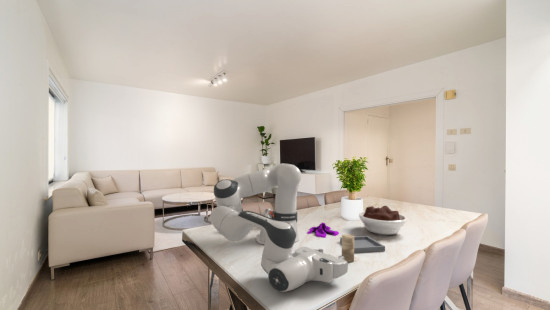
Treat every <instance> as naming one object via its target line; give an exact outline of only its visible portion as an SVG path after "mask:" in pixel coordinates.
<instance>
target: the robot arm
mask: <svg viewBox="0 0 550 310" xmlns="http://www.w3.org/2000/svg"><path fill="white" fill-rule="evenodd" d="M301 180H302V172H301V170H300V169H299V167H297V166H296V165H295V164H290V163H283V162H282V163H279V164H275V165H273V166H269V167H267V168H263V169H261V170H258V171H254V172H251V173H247V174H244V175H241V176H238V177H235V178H234V179H230V178H229V179H222V180H219V181H218V182H216V184H215V185H214V186H213V195H214V199H215V203H216V207H215V208H213V210H212V211H211V212H210V215H209V221H210V223H211V224H212V226H213V228H214V229H215V230H216V231H217V232H218V233H219V234H220V235H222V237H224V238H225V239H226V240H228V241H230V242H238V241H241V240H243V239H245V238H246V237H247V236H248V235H249V233H250V232H251V230H252V228H256V229H259V230H260V231H259V233H257V234H256V235H255V240H256V242H257V243H258V244H259V245H264V246H263V249H262V254H261V259H260V265H261V268H262V269H263V271H264V272H265V273H266V274H267V275H268V277H267V278H268V281H269V284H270V285H271V287H272V288H273V289H274V290H275V291H277V292H281V293H284V292H290V291H292V290H295V289H297V288H299V287H301V286H303V285H304V284H305V283H307V282H310V281H316V282H317V281H319V282H324V283H331V282H333V279H338V278H341V277H343V276H344V275H346V274H347V273H348V272H349V271H348V269H349V265H348V264H349V263H348V262H347V261H345V260H344V256H342V255H338V257H335V256H333V255H330V254H328V253H324V249H322V248H316V249H314V248H310V247H307V246H301V247H299V248H297V249H295V250H294V252H292V251H293V247H294V244H295V243H296V242H298V241H300V236H299V233H298V224H297V223H298V211H297V203H298V202H297V198H298V191H299V186H300V182H301ZM276 187H277V188H276ZM274 188H276V194H275V196H274V197H275V199H274V200H275V202H274V206H275V208H274V212H273V211H270V213H269V214H270V215H271V218H270V217H269V216H268V217H266V216H264V214H260V213H258V212H254V211H252V210H244V209H243V205H242V199H243V198H249V197H252V196H255V195H258V194H262V193H265V192H269V191H270V190H273V189H274Z"/></svg>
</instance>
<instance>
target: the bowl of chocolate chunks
mask: <svg viewBox="0 0 550 310" xmlns="http://www.w3.org/2000/svg"><path fill="white" fill-rule="evenodd" d="M358 217H359V219H360V221H361V223H363V227H365V229H366V230H367V231H369V232H371V233H374V234H379V235H396V234H398V233H399V232H400V231H401V228H402V227H403V226H405V224H406V223H407V217H406V216H405V215H402V214H400V212H399V211H398V210H392V209H390V208H389V206H388V205H382V206H381V207H374V206H367V207H366V208H365V211H364V210H363V211H361V212H359V214H358Z"/></svg>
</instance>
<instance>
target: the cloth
mask: <svg viewBox="0 0 550 310" xmlns="http://www.w3.org/2000/svg"><path fill="white" fill-rule="evenodd" d="M314 232H315V237H316V238H321V239H323V238H325V239H326V238H327V234H328V235H332V237H336V236H338V235H339V233H340V232H339V231H338V230H332V229H331V226H328V225H327V224H326V223H325V222H320V224H319V225H317V226H312V227H311V228H310V229H309V228H308V231H307V232H306V234H307V235H311V234H312V233H314Z"/></svg>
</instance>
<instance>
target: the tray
mask: <svg viewBox="0 0 550 310" xmlns="http://www.w3.org/2000/svg"><path fill="white" fill-rule="evenodd" d="M339 239H340V240H339V242H340V243H341V244H342V236H341V237H340V238H339ZM377 252H386V246H385V245H384V244H382V243H380V242H379V241H377V240H375V239H373V237H370V236H368V235H359V236H354V254H362V253H377Z"/></svg>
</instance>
